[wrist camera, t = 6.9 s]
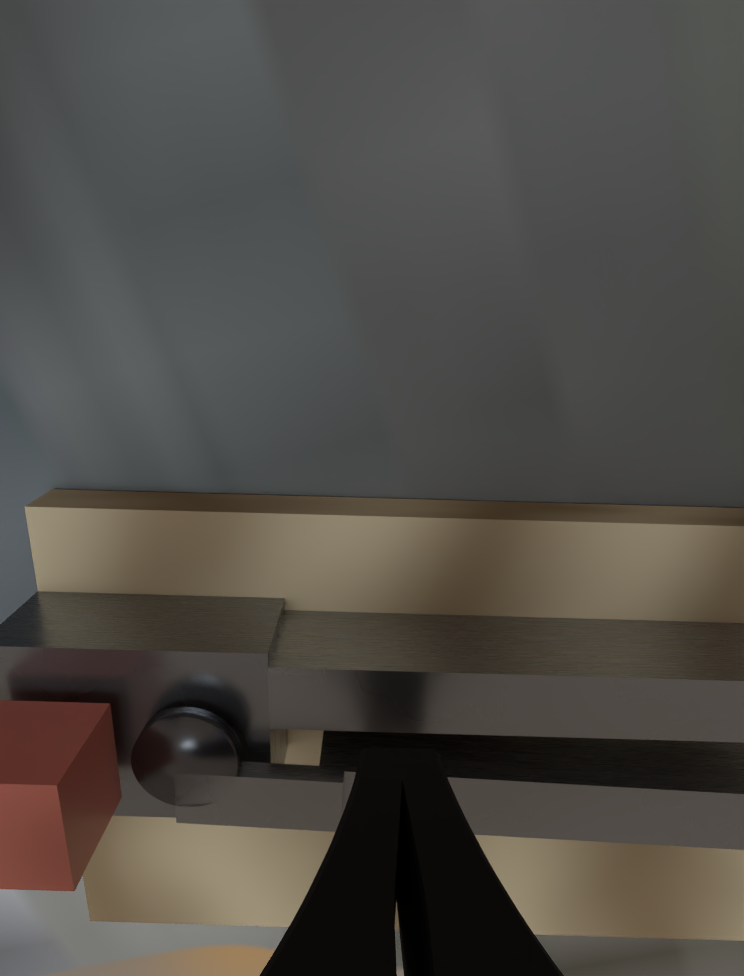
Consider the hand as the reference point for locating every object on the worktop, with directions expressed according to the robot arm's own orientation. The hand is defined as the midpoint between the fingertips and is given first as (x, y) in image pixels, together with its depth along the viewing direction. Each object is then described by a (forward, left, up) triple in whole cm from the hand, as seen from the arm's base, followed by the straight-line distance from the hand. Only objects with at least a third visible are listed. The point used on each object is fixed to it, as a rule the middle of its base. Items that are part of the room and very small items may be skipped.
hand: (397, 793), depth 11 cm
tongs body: (-1, 0, -3) cm, 3 cm away
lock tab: (+7, 0, -1) cm, 7 cm away
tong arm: (-2, +1, -3) cm, 4 cm away
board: (-1, +2, -5) cm, 5 cm away
